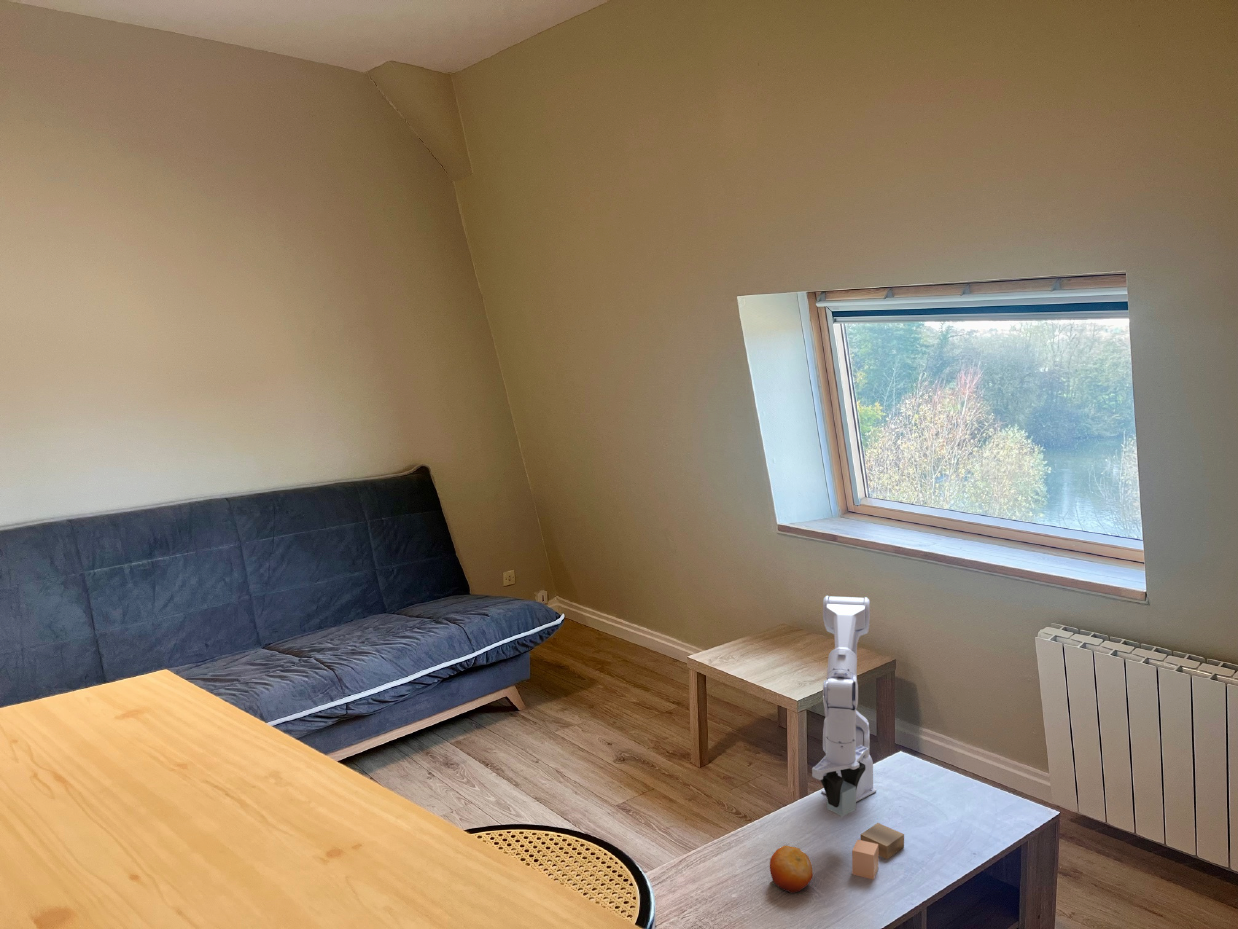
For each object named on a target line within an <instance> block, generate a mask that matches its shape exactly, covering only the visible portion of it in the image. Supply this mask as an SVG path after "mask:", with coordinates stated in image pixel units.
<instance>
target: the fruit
mask: <svg viewBox="0 0 1238 929" xmlns="http://www.w3.org/2000/svg"><path fill="white" fill-rule="evenodd" d="M769 860H770V861H769V871H770V872H769V873H770V875H771V879H772V881H770V882H769V885H771V884H773V883H774V885H776V886H777V887H778V888H779V889H781V890H783V891H786V892H789V893H791V894H795V893H798V892H801V890H803V889H804V888H805V887H807V886H808V884H810V882H811V880H813V878H814V872H813V871H814V870H813V864H812V861H811V859H810V858H809V856H808V855H807V853H805V851H804V852H803V851H802V850H801V849H800V848H798V847H794V846H791V845H783V846H781V847H779V848H777V849H776V850H775V852H774V853H772V856H771V857H770V859H769Z"/></svg>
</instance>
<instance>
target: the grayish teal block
mask: <svg viewBox="0 0 1238 929" xmlns="http://www.w3.org/2000/svg"><path fill="white" fill-rule="evenodd" d="M856 807H857V802H856V786H854V785H852V784H850V783H848V782H846V781H843V783H842V786H841V791H840V802H839V806H838V807H834V806H832V805H830V804H829V803H828V799H827V798H826V809H827V810H828V811H831V812H833V813H835V814H836V815H838V816H840V817H842V818H843V817H845V816H846V815H849V814H850V813H852V812H854V811H856V810H857V808H856Z"/></svg>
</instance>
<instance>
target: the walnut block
mask: <svg viewBox="0 0 1238 929" xmlns="http://www.w3.org/2000/svg"><path fill="white" fill-rule="evenodd" d="M860 840H862V841H866V842H871V843H875V844H879V857H881V858H884V859H885V860H888V859H890V858H891V857H892V856H894V855H896V853H898V852H899V851H901V850H902V849H903V848H904V847H905V834H904V833H902V832H899V831H898V830H896V829H893V828H890V827H889V826H886V825H884V824H881V823H880V822H877V823H875V824H874V825H872V826H871V827H869V828H867V829H866V830H865V831H863V832H862V833H861V834H860Z"/></svg>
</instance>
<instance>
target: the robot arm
mask: <svg viewBox="0 0 1238 929" xmlns="http://www.w3.org/2000/svg"><path fill="white" fill-rule="evenodd" d="M822 600H823V604H822V620H823V622H824V623H823V624H824V629H825V630H826V632H828V633H830V634H832V635H833V636H834V649H832V650H831V651H830V652H829V653H828V656H827V657H828V659H827V670H826V680H825V679H824V680H823V683H822V702H823V703H822V704H823V708H824V717H825V718H824V721H823V729H822V732H823V733H822V751H824V753H825V755H824V756H823V758H822V759H821V760H820V761H819V762H818V763H817V764H815V765H814V766H813V767H812V768H811V773H812V774H811V777H812V778H814V779H816V780H818V781H820V783H821V784H822V787H823V788H822V789H821V793H823V794H825V795H826V800H827V799H828V803H829V804H830V805H832V806H834V807H838V806H839V802H840V791H841V786H842V783H843V781H846V782H848V783H850V784H852V785H854V786H856V803H857V802H859V801H860V800H863V799H865V798H866V797H868V796H870V795H872V794H874V793H875V792H877V789H876V788H875V787H874V762H873V758H872V756H871V755H870V744H871V743H870V737H871V736H870V722H869V720H868V719H867V717H865V716H864V715H863V714H861V713H860V712H859V710H857V708H858V706H859V705H858V704H859V684H858V679H857V678H858V676H857V675H858V674H857V673H858V672H857V671H858V670H857V669H858V642H859V639H860V637H861V636H864V635H867V634H868V633H869V630H870V623H871V622H870V620H871V619H870V618H871V617H870V616H871V601H870V599H869V598H868V597H867V596H865V597H852V596H830V595H825V596H824V597H823V599H822ZM822 790H823V791H822Z"/></svg>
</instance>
